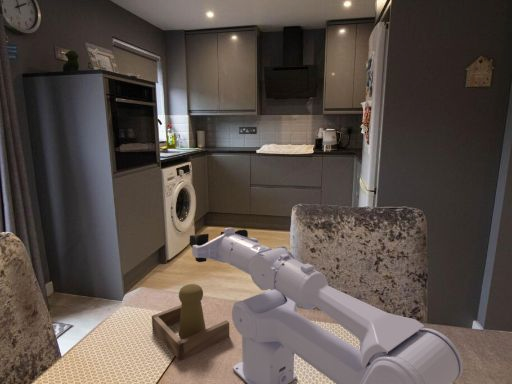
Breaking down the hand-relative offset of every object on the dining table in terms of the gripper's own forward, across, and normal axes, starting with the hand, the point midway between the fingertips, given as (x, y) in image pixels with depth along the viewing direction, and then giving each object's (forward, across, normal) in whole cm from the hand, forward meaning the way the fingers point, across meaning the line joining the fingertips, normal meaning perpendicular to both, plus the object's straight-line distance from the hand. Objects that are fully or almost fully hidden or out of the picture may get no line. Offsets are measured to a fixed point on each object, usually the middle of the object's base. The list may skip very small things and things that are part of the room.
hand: (206, 238), depth 74 cm
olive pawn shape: (0, +3, +21) cm, 22 cm away
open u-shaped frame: (0, +3, +21) cm, 21 cm away
